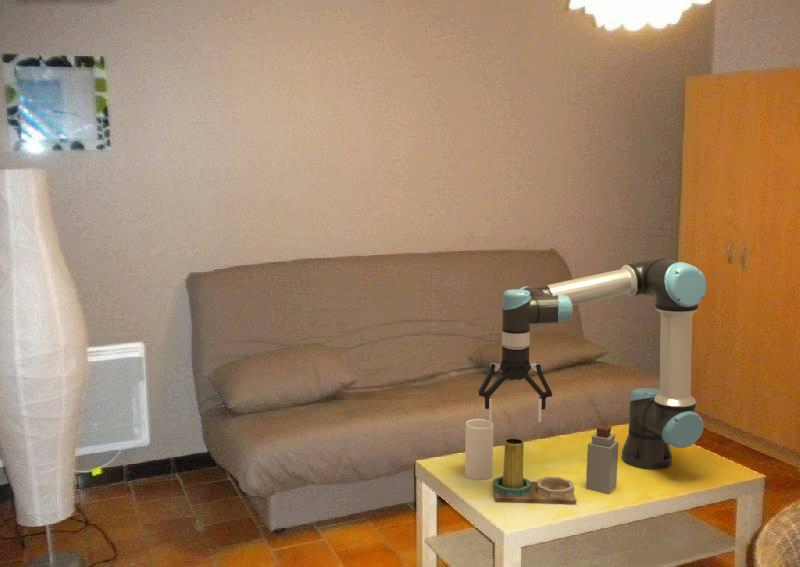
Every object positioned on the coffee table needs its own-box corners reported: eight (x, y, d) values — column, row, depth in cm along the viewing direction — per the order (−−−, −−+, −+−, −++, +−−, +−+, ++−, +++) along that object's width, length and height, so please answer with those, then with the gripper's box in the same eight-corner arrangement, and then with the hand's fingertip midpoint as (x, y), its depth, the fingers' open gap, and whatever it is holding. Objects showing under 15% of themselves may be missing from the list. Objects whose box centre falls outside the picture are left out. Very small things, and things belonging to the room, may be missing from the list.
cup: (496, 471, 238) (497, 421, 236) (487, 481, 231) (488, 429, 228) (470, 467, 242) (471, 417, 239) (461, 477, 234) (461, 425, 232)
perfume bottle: (609, 494, 222) (612, 433, 219) (585, 489, 226) (588, 428, 223) (616, 485, 228) (619, 426, 225) (593, 480, 232) (596, 422, 229)
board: (569, 486, 228) (570, 475, 227) (575, 504, 216) (576, 493, 215) (493, 484, 229) (493, 473, 229) (495, 501, 217) (495, 491, 217)
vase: (523, 494, 219) (524, 445, 217) (500, 492, 220) (502, 443, 218) (524, 485, 225) (525, 438, 223) (502, 483, 226) (504, 436, 224)
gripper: (559, 343, 219) (558, 416, 222) (469, 342, 221) (469, 415, 224) (563, 349, 211) (561, 425, 215) (470, 349, 213) (470, 424, 217)
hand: (514, 420), depth 219 cm, fingers open, 13 cm apart
